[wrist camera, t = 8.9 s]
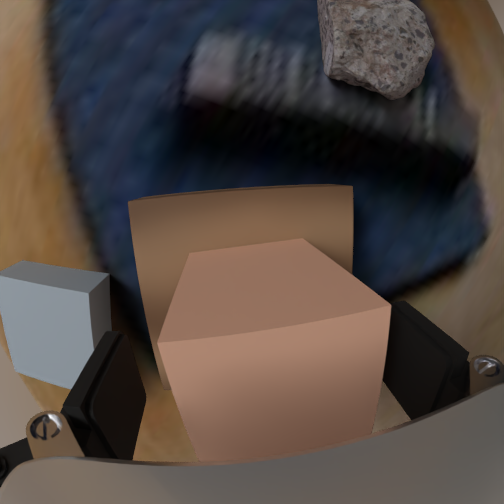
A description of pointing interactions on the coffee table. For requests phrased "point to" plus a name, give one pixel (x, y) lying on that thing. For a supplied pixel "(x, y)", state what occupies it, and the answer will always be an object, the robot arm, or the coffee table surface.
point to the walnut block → (230, 233)
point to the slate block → (53, 318)
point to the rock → (375, 44)
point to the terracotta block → (273, 351)
